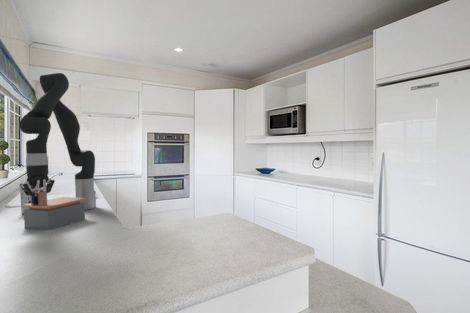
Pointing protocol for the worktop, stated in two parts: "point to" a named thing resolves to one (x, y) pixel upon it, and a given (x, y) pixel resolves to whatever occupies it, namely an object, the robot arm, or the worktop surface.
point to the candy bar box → (24, 199)
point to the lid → (52, 202)
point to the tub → (53, 216)
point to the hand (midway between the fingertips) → (39, 204)
